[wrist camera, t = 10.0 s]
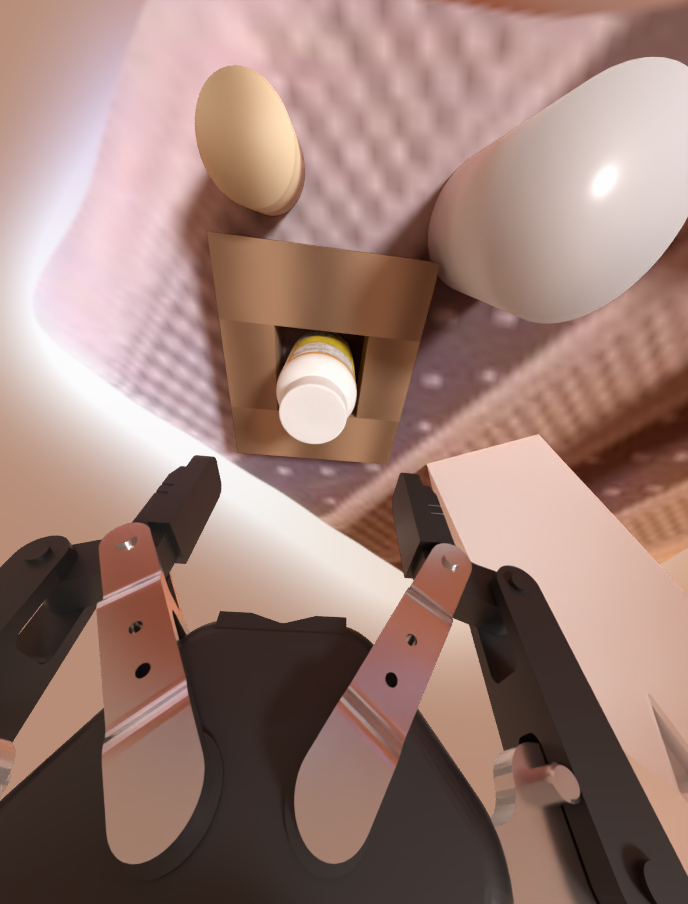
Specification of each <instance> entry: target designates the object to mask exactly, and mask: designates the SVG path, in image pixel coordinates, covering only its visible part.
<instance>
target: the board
mask: <svg viewBox="0 0 688 904" xmlns="http://www.w3.org/2000/svg"><path fill="white" fill-rule="evenodd" d="M207 237H208V244H209V252H210V259H211V266H212V273H213V280H214V287H215V294H216V302H217V309H218V316H219V323H220V330H221V337H222V344H223V352H224V359H225V366H226V373H227V380H228V387H229V395H230V402H231V409H232V416H233V423H234V430H235V437H236V445H237V452H238V453H249V454H262V455H275V456H288V457H300V458H313V459H326V460H339V461H351V462H364V463H377V464H388V463H389V459H390V455H391V451H392V448H393V444H394V440H395V436H396V432H397V428H398V425H399V421H400V417H401V413H402V409H403V406H404V402H405V398H406V394H407V390H408V386H409V383H410V379H411V375H412V371H413V367H414V363H415V360H416V356H417V352H418V348H419V344H420V340H421V337H422V333H423V329H424V325H425V321H426V317H427V314H428V310H429V306H430V302H431V298H432V295H433V291H434V287H435V283H436V279H437V275H438V272H439V268H440V264H441V263H436V262H430V261H424V260H417V259H409V258H402V257H395V256H387V255H380V254H373V253H365V252H358V251H351V250H344V249H336V248H329V247H322V246H314V245H307V244H300V243H292V242H285V241H278V240H270V239H263V238H256V237H248V236H241V235H234V234H226V233H217V232H207ZM282 326H284V327H293V328H302V329H311V330H320V331H328V332H337V333H346V334H355V335H364V340H363V347H362V354H361V361H360V367H359V374H358V381H357V388H356V390H357V396H356V402H355V406H354V409H353V411H352V413H351V414H350V415H349V417H348V418H347V421H346V424H345V427H344V429H343V430H342V432H341V433H340V434H339V435H338V436H337V437H336V438H334V439H333V440H331V441H329V442H326V443H322V444H308V443H304V442H301V441H299V440H297V439H295V438H293V437H292V436H291V435H290V434H289V433H288V432H287V431H286V430H285V429H284V427H283V426H282V424H281V421H280V417H279V403H278V400H277V394H276V387H277V381H278V378H279V375H280V373H281V371H282V369H283V350H282Z"/></svg>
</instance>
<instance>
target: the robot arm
mask: <svg viewBox="0 0 688 904" xmlns="http://www.w3.org/2000/svg"><path fill="white" fill-rule="evenodd" d="M220 493H221V480H220V475H219V470H218V466H217V461H216V458H215V457H210V456H198V455H196V456H194V457H193V458H192V459H191V461H190V462H189V464H188V465H187V466H186V467H184V466H181V467H179V468H178V469H176V470H175V471H173V472H172V473H170V474H169V475H168V477H167V478H166V479H165V480H164V482H163V483H162V485H161V486H160V487H159V488H158V490H157V492H156V493H154V495H153V496H152V497H151V499H150V500H149V501H148V502H147V504H146V505H145V506H144V508H143V509H142V510H141V512H140V513H139V514H138V515H137V517H136V518H135V519H134V521H133V522H132V523H128V524H125V525H122V526H119V527H117V528H115V529H113V530H112V531H110V532H109V533H108V534H107V535H106V536H105V537H104V538H103V539H102V540H96V541H91V542H85V543H80V544H74V545H71V543H70V542H69V541H68V540H67V538H65V537H63V536H48V537H44V538H40V539H37V540H35V541H33V542H31V543H29V544H27V545H25V546H24V547H22V548H20V549H19V550H18V551H17V552H15V553H14V554H13V555H12V557H10V558H9V559H8V560H7V561H6V562H5V563H4V564H3V565H2V566H1V567H0V795H1V793H2V792H3V791H4V789H5V788H6V787H7V785H8V783H9V781H10V778H11V769H12V766H13V764H14V759H15V748H14V745H13V743H12V742H13V741H14V739H15V737H16V736H17V734H18V732H19V730H20V729H21V728H22V726H23V724H24V723H25V721H26V720H27V718H28V716H29V715H30V713H31V712H32V710H33V708H34V707H35V705H36V704H37V702H38V700H39V699H40V697H41V695H42V694H43V692H44V691H45V689H46V688H47V686H48V684H49V683H50V681H51V680H52V678H53V676H54V675H55V673H56V672H57V670H58V668H59V667H60V665H61V663H62V662H63V660H64V659H65V657H66V655H67V654H68V652H69V651H70V649H71V647H72V646H73V644H74V643H75V641H76V640H77V638H78V636H79V635H80V633H81V631H82V630H83V628H84V627H85V625H86V623H87V622H88V620H89V619H90V617H91V615H92V614H93V612H94V611H95V609H97V610H96V611H97V624H98V636H99V637H98V638H99V651H100V663H101V676H102V689H103V702H104V708H103V709H102V710H101V711H100V712H99V713H98V714H96V715H95V716H94V717H93V718H92V719H91V720H90V721H89V722H87V723H86V724H85V725H84V726H83V727H82V728H81V729H80V730H79V731H77V732H76V733H75V734H74V735H73V736H72V737H71V738H70V739H69V740H67V741H66V742H65V743H64V744H63V745H62V746H61V747H60V748H58V750H56V751H55V752H54V753H53V754H52V755H51V756H50V757H49V758H47V759H46V760H45V761H44V762H43V763H42V764H41V765H40V766H38V767H37V768H36V769H35V770H34V771H33V772H32V773H31V774H30V775H28V776H27V777H26V778H25V779H24V780H23V781H22V782H21V783H19V784H18V785H17V786H16V787H15V788H14V789H13V790H12V791H11V792H9V794H7V795H6V796H5V797H4V798H3V799H2V800H1V801H0V904H688V875H687V873H686V871H685V869H684V868H683V866H682V864H681V862H680V860H679V858H678V856H677V854H676V852H675V850H674V848H673V846H672V844H671V842H670V840H669V838H668V836H667V834H666V832H665V831H664V829H663V827H662V825H661V823H660V821H659V819H658V817H657V815H656V813H655V811H654V809H653V807H652V805H651V803H650V801H649V799H648V797H647V795H646V794H645V792H644V790H643V788H642V786H641V784H640V782H639V780H638V778H637V776H636V774H635V772H634V770H633V768H632V766H631V764H630V762H629V760H628V758H627V757H626V755H625V753H624V751H623V749H622V747H621V745H620V743H619V741H618V739H617V737H616V735H615V733H614V731H613V729H612V727H611V725H610V723H609V721H608V720H607V718H606V716H605V714H604V712H603V710H602V708H601V706H600V704H599V702H598V700H597V698H596V696H595V694H594V692H593V690H592V688H591V686H590V685H589V683H588V681H587V679H586V677H585V675H584V673H583V671H582V669H581V667H580V665H579V663H578V661H577V659H576V657H575V655H574V653H573V651H572V649H571V648H570V646H569V644H568V642H567V640H566V638H565V636H564V634H563V632H562V630H561V628H560V626H559V624H558V622H557V620H556V618H555V616H554V614H553V612H552V611H551V609H550V607H549V605H548V603H547V601H546V599H545V597H544V595H543V593H542V591H541V589H540V587H539V585H538V584H537V582H536V581H535V580H534V579H533V578H532V577H531V576H530V575H529V574H528V573H526V572H525V571H523V570H522V569H520V568H518V567H515V566H509V565H506V566H502V567H500V568H499V569H498V571H497V572H496V571H494V570H491V569H488V568H485V567H482V566H480V565H477V564H475V563H473V562H471V561H470V559H469V558H468V556H467V555H466V554H465V553H464V552H463V551H462V550H461V549H460V548H458V547H456V545H455V543H454V540H453V538H452V535H451V532H450V530H449V527H448V524H447V522H446V519H445V516H444V515H443V511H442V508H441V507H440V503H439V500H438V497H437V495H436V494H435V493H434V492H433V490H432V489H431V488H430V487H427V486H422V483H421V480H420V477H419V475H418V474H410V473H400V475H399V478H398V482H397V485H396V489H395V492H394V495H393V500H392V511H393V517H394V522H395V528H396V534H397V539H398V545H399V550H400V556H401V561H402V567H403V572H404V577H405V578H413V580H414V581H413V583H412V585H411V586H410V588H408V589H407V591H406V592H405V594H404V596H403V597H402V599H401V601H400V602H399V604H398V606H397V607H396V609H395V611H394V612H393V614H392V615H391V617H390V619H389V621H388V622H387V624H386V625H385V627H384V629H383V630H382V632H381V634H380V635H379V637H378V639H377V640H376V642H375V644H374V645H373V644H372V643H371V642H370V641H369V640H368V639H367V638H366V637H364V636H363V635H362V634H360V633H359V632H357V631H355V630H353V629H351V628H348V627H346V618H342V617H322V616H314V617H310V618H306V619H301V620H297V621H292V622H288V623H279V622H276V621H273V620H270V619H268V618H264V617H262V616H259V615H256V614H253V613H244V612H224V611H220V613H219V616H218V619H217V621H216V622H212V623H209V624H206V625H204V626H201V627H199V628H197V629H195V630H194V631H192V632H190V633H189V630H188V628H187V625H186V622H185V620H184V617H183V614H182V611H181V607H180V603H179V600H178V597H177V593H176V590H175V587H174V583H173V580H172V576H171V574H170V571H171V569H172V567H173V565H174V563H181V564H186V563H187V561H188V559H189V557H190V555H191V553H192V551H193V549H194V547H195V545H196V543H197V541H198V539H199V537H200V535H201V533H202V531H203V529H204V526H205V525H206V523H207V521H208V519H209V517H210V515H211V513H212V511H213V509H214V507H215V505H216V503H217V501H218V499H219V497H220ZM42 603H43V605H42V606H41V607H40V608H39V606H40V605H41V604H42ZM96 607H97V608H96ZM38 608H39V610H38V611H37V612H36V610H37V609H38ZM35 612H36V613H35ZM34 613H35V615H34V616H33V617H32V615H33V614H34ZM31 617H32V619H31V620H30V621H29V623H28V624H27V625H26V626H25V628H24V629H23V630H22V628H23V627H24V625H25V624H26V623H27V622H28V620H29V619H30V618H31ZM452 618H454V619H457V620H459V621H462V622H464V623H467V624H469V626H470V629H471V633H472V636H473V640H474V644H475V648H476V651H477V655H478V658H479V662H480V666H481V669H482V673H483V677H484V680H485V684H486V687H487V691H488V695H489V698H490V702H491V706H492V709H493V713H494V716H495V720H496V724H497V727H498V731H499V735H500V738H501V742H502V746H503V749H504V751H503V752H502V753H500V754H499V755H498V756H497V758H496V761H495V764H494V770H493V773H494V783H495V791H496V804H495V809H494V813H493V815H492V817H491V818H490V816H489V814H488V813H487V811H486V809H485V807H484V805H483V804H482V802H481V801H480V799H479V797H478V796H477V795H476V793H475V792H474V790H473V789H472V787H471V786H470V784H469V783H468V781H467V780H466V778H465V777H464V775H463V774H462V772H461V771H460V770H459V768H458V767H457V765H456V764H455V762H454V761H453V759H452V758H451V757H450V755H449V754H448V752H447V751H446V749H445V748H444V746H443V745H442V743H441V742H440V740H439V739H438V737H437V736H436V735H435V733H434V731H433V730H432V729H431V727H430V726H429V724H428V723H427V721H426V720H425V718H424V717H423V715H422V714H421V713H420V711H419V710H418V706H419V704H420V701H421V699H422V696H423V694H424V691H425V689H426V686H427V684H428V682H429V679H430V677H431V675H432V672H433V670H434V667H435V665H436V662H437V660H438V657H439V655H440V652H441V650H442V648H443V645H444V643H445V640H446V638H447V636H448V633H449V631H450V628H451V626H452V623H453V619H452ZM21 630H22V632H21V633H20V631H21ZM19 633H20V634H19Z"/></svg>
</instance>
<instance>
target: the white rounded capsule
mask: <svg viewBox="0 0 688 904" xmlns="http://www.w3.org/2000/svg"><path fill="white" fill-rule="evenodd" d="M687 217H688V67H687V66H686V65H684V64H682V63H680V62H678V61H676V60H672V59H668V58H664V57H645V58H640V59H634V60H629V61H627V62H624V63H621V64H618V65H616V66H613V67H611V68H609V69H607V70H605V71H603V72H601V73H600V74H598V75H596V76H594V77H592V78H591V79H589V80H588V81H586V82H585V83H583V84H582V85H580V86H579V87H577V88H576V89H574V90H573V91H571V92H569V93H568V94H566V95H565V96H563V97H562V98H560V99H559V100H557V101H556V102H554V103H553V104H551V105H550V106H548V107H547V108H545V109H544V110H542V111H541V112H539V113H538V114H536V115H534V116H533V117H531V118H530V119H528V120H527V121H525V122H524V123H522V124H521V125H519V126H518V127H516V128H515V129H513V130H512V131H510V132H509V133H507V134H506V135H504V136H503V137H501V138H499V139H498V140H496V141H495V142H493V143H492V144H490V145H489V146H487V147H486V148H484V149H483V150H481V151H480V152H478V153H477V154H475V155H474V156H472V157H471V158H469V159H468V160H467V161H465V162H464V163H463V164H462V165H461V166H460V167H459V168H458V169H457V170H456V171H455V172H454V173H453V174H452V175H451V177H450V178H449V180H448V181H447V182H446V184H445V185H444V187H443V189H442V190H441V192H440V194H439V196H438V198H437V200H436V202H435V205H434V208H433V211H432V214H431V218H430V222H429V228H428V252H429V258H430V261H431V262H436V263H441V264H440V268H439V272H438V275H437V276H438V277H439V278H440V279H441V280H442V281H443V283H445V284H446V285H447V286H449V287H451V288H452V289H454V290H457V291H459V292H461V293H464V294H466V295H468V296H471V297H473V298H475V299H478V300H480V301H482V302H485V303H487V304H489V305H492V306H494V307H496V308H499V309H501V310H503V311H506V312H508V313H510V314H513V315H515V316H517V317H519V318H522V319H525V320H528V321H531V322H536V323H558V322H565V321H569V320H573V319H576V318H579V317H581V316H584V315H587V314H589V313H591V312H593V311H595V310H597V309H599V308H601V307H603V306H604V305H606V304H608V303H609V302H611V301H612V300H614V299H615V298H617V297H618V296H619V295H621V294H622V293H624V292H625V291H626V290H627V289H628V288H630V287H631V286H632V285H633V284H634V283H636V282H637V281H638V280H639V279H640V278H641V277H642V276H643V275H644V274H645V273H646V272H647V271H648V270H649V269H650V268H651V267H652V266H653V265H654V264H655V262H656V261H657V260H658V259H659V258H660V257H661V256H662V254H663V253H664V252H665V250H666V249H667V248H668V247H669V245H670V244H671V243H672V241H673V240H674V238H675V237H676V235H677V234H678V232H679V231H680V229H681V228H682V226H683V224H684V223H685V221H686V219H687Z"/></svg>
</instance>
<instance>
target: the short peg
mask: <svg viewBox="0 0 688 904" xmlns="http://www.w3.org/2000/svg"><path fill="white" fill-rule="evenodd" d="M195 133H196V140H197V145H198V149H199V153H200V156H201V159H202V161H203V164H204V166H205V168H206V170H207V172H208V174H209V176H210V177H211V179H212V180H213V182H214V183H215V185H216V186H217V187H218V188H219V189H220V190H221V192H223V193H224V194H225V195H226V196H227V197H228V198H230V199H231V200H232V201H234V202H236V203H237V204H240V205H242V206H245V207H247V208H250V209H252V210H254V211H257V212H259V213H262V214H265V215H269V216H278V215H282V214H284V213H286V212H288V211H289V210H290V209H292V208H293V207H294V205H295V204H296V203H297V201H298V199H299V198H300V195H301V193H302V190H303V186H304V180H305V164H304V158H303V153H302V150H301V147H300V144H299V141H298V139H297V136H296V134H295V131H294V129H293V126H292V123H291V121H290V118H289V116H288V113H287V111H286V109H285V106H284V104H283V102H282V100H281V99H280V97H279V95H278V94H277V92H276V91H275V89H274V88H273V87H272V86H271V85H270V84H269V82H268V81H266V80H265V79H264V78H263V77H262V76H261V75H259V74H258V73H256V72H255V71H253V70H251V69H249V68H246V67H242V66H227V67H224V68H221V69H219V70H218V71H216V72H214V73H213V74H212V75H211V76H210V77H209V78H208V80H207V81H206V82H205V84H204V86H203V88H202V90H201V92H200V94H199V97H198V101H197V105H196V112H195Z"/></svg>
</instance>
